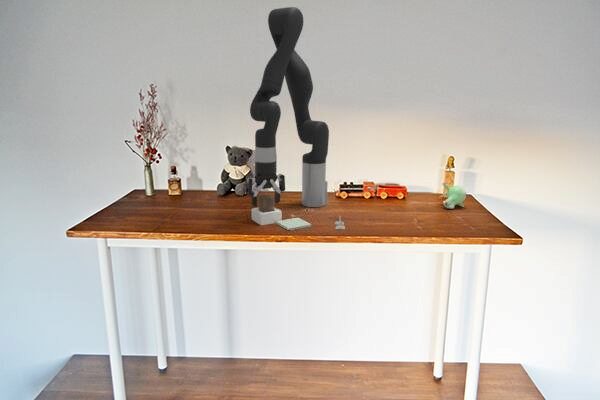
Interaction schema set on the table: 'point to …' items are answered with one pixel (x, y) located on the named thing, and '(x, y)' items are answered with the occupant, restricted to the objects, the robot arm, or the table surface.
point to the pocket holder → (266, 216)
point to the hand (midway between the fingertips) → (265, 204)
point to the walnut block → (266, 203)
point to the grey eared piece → (339, 224)
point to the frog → (453, 196)
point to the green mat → (293, 224)
